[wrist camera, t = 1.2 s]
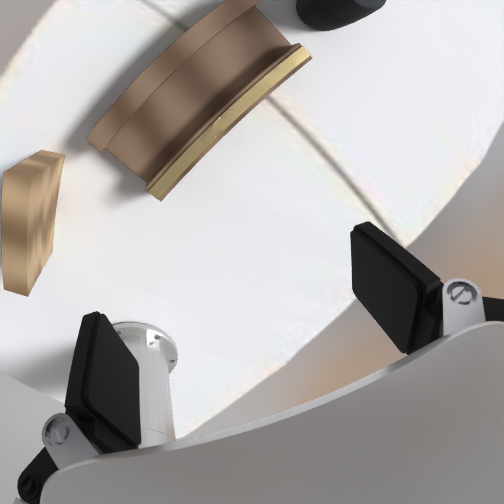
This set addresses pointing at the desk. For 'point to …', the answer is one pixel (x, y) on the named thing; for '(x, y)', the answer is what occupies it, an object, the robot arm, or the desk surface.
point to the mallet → (335, 12)
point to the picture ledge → (196, 93)
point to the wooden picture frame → (28, 218)
